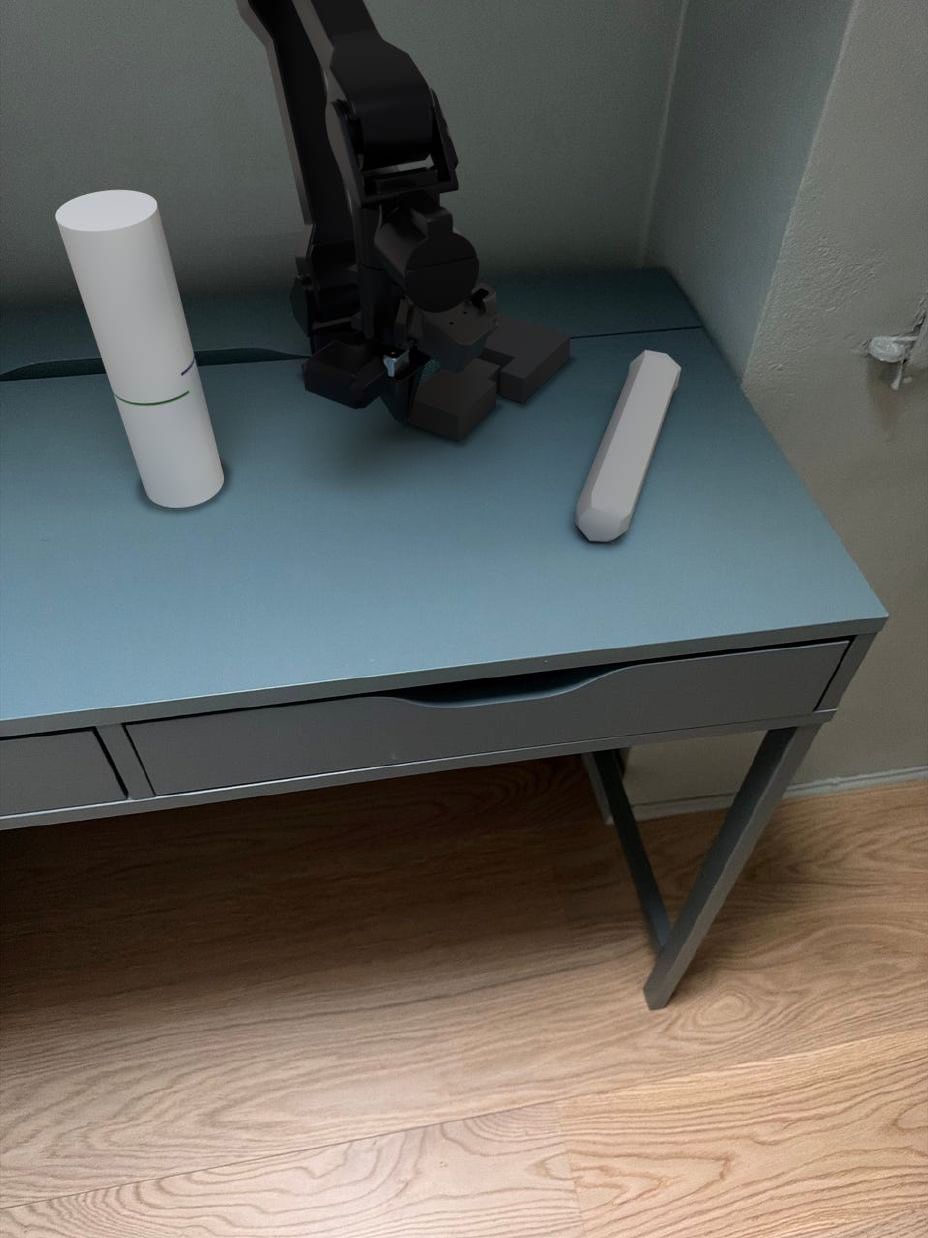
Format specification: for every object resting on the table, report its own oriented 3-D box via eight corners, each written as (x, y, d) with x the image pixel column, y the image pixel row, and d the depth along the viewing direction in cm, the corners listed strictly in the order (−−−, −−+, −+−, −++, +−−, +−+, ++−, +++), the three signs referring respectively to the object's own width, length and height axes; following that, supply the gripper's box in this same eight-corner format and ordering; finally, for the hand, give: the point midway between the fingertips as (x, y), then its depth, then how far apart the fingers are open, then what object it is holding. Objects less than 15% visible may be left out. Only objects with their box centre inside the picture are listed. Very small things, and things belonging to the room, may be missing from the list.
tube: (612, 563, 78) (665, 405, 94) (639, 523, 74) (690, 365, 90) (556, 536, 78) (619, 382, 94) (581, 494, 73) (642, 341, 89)
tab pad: (408, 422, 90) (406, 397, 88) (460, 377, 96) (460, 352, 93) (458, 442, 88) (458, 416, 86) (509, 394, 93) (510, 369, 91)
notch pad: (441, 375, 96) (440, 350, 94) (490, 334, 102) (490, 309, 99) (522, 404, 92) (524, 378, 90) (568, 360, 98) (571, 334, 96)
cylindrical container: (238, 468, 85) (176, 197, 67) (199, 514, 80) (120, 237, 62) (172, 453, 87) (93, 184, 68) (130, 498, 82) (34, 222, 64)
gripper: (407, 333, 63) (415, 505, 75) (537, 234, 74) (527, 398, 85) (285, 292, 67) (311, 461, 79) (425, 203, 78) (430, 363, 89)
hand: (401, 419), depth 83 cm, fingers closed
